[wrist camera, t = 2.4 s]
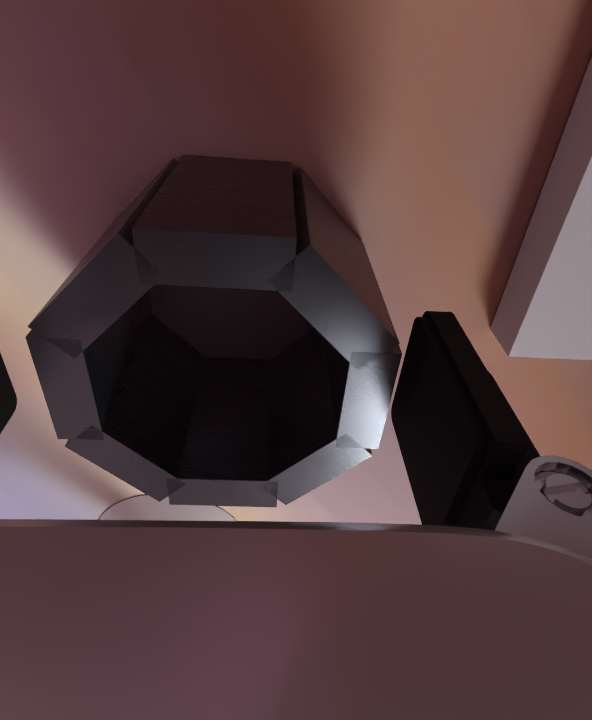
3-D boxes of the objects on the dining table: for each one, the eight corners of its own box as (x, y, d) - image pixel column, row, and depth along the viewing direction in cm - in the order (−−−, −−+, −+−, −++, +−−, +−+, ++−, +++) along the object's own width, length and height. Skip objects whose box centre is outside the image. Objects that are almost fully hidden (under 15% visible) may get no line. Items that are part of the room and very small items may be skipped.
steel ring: (342, 386, 16) (363, 508, 12) (129, 378, 16) (78, 502, 12) (379, 168, 12) (428, 245, 8) (90, 148, 12) (-12, 219, 8)
